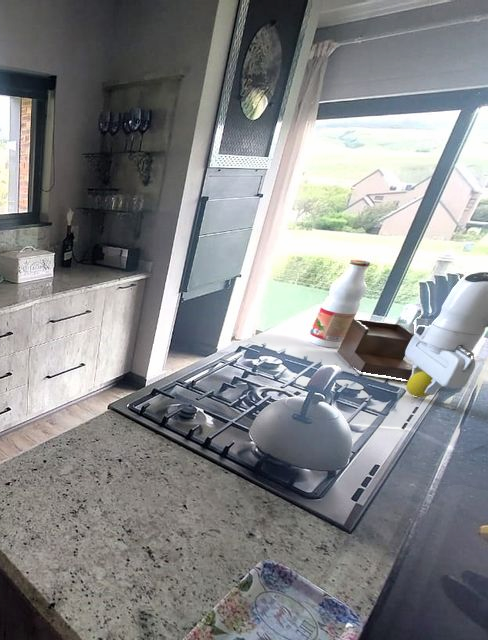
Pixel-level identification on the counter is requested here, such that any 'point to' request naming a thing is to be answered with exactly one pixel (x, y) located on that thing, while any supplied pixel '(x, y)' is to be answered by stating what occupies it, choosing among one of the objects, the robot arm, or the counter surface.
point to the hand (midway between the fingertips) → (420, 387)
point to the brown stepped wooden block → (377, 348)
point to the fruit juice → (340, 306)
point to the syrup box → (409, 316)
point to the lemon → (418, 384)
